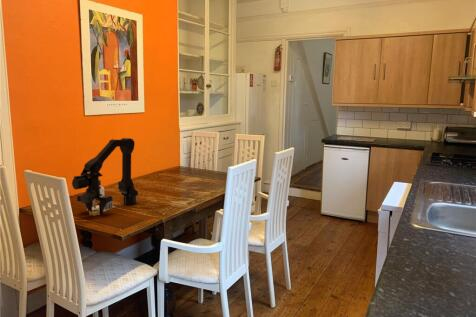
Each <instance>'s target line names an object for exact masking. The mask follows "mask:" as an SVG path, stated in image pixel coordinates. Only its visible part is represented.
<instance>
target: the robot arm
mask: <svg viewBox="0 0 476 317" xmlns="http://www.w3.org/2000/svg"><path fill="white" fill-rule="evenodd" d="M118 147H119V150H120V152H121V154H122V155H121V158H122V161H121V162H122V165H121V168H122V171H121V179H120V181H118V182H117V184H118V185H117V186H118V187H117V189H118V191H119V192H120V193H121V195H122V196H123V197H122V198H123V204H124V205H126V206H134V205H136V204H137V196H139V191H138V190H137V189H136V188H135V185H134V182H133V180H132V153H133V151H134V150H135V139H133V138H130V137H129V138H128V137H122V138H121V139H114V138H113V139H112V138H111V139H110V140H109V141H108V143H106V144H105V145H104V147H103V148H102V149H101V150H100V151H99V152H98V153H97V155H96V156H95V157H93V158H91V159H90V160H88V161H87V162H86V163H85V164H84V167H83V169H82V171H81V173H80V174H79V175H74V176H73V179H72V182H71V185H72V188H73V189H74V190H80V189H85V188H86V189H85V192H83V193H82V194H79V195H77V196H76V202H80V203H82V204H83V205H85V207H86V210H87V209H88V210H87V211H88V212H89V211H90V210H92V207H93V201H98V202H97V205H99V210H100V215H99V216H101V215H103V210H104V208H105V206H106V204H107V203H108V202H113V196H112V195H105V196H103V197H100V196H102V194H100V189H101V187H102V186H99V180H100V178H99V177H103V174H102V173H100V171H101V169H102V168H103V164H104V162H105V161H106V160H107V159H108V158H109V156H110V155H111V154H112V153H113V152H114V151H115V149H116V148H118ZM96 198H97V199H96Z"/></svg>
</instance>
